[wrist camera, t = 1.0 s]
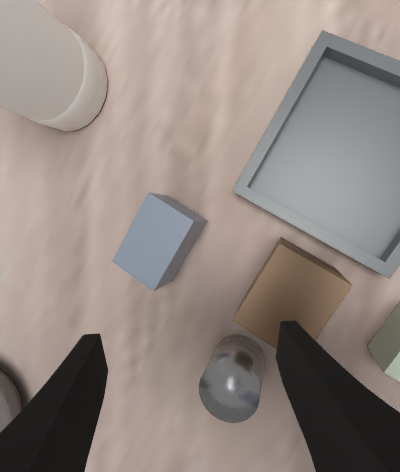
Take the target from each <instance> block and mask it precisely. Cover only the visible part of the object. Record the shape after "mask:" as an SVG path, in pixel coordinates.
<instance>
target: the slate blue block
mask: <svg viewBox="0 0 400 472" xmlns="http://www.w3.org/2000/svg"><path fill="white" fill-rule="evenodd" d="M206 223H207V220H206V219H204V218H203V217H201V216H199V215H198V214H196V213H195V212H193V211H191V210H190V209H188V208H187V207H185V206H183V205H182V204H180V203H179V202H177V201H175V200H174V199H172V198H171V197H169V196H165V195H160V194H154V193H149V192H148V194H147V196H146V198H145V200H144V202H143V204H142V206H141V207H140V209H139V211H138V213H137V215H136V217H135V219H134V221H133V223H132V225H131V226H130V228H129V230H128V232H127V234H126V236H125V238H124V240H123V242H122V243H121V245H120V247H119V249H118V251H117V253H116V255H115V257H114V259H113V260H112V262H114V263H115V264H116V265H118V266H119V267H121V268H122V269H123V270H125V271H126V272H128V273H129V274H130V275H132V276H133V277H135V278H136V279H137V280H139V281H140V282H142V283H143V284H144V285H146V286H147V287H149V288H150V289H151V290H153V291H155V290H157V289H158V288H160V287H162V286H164V285H166V284H167V283H169V282H171V281H173V279H174V277H175V276H176V274H177V272H178V270H179V269H180V267H181V265H182V264H183V262H184V260H185V258H186V257H187V255H188V253H189V252H190V250H191V248H192V247H193V245H194V243H195V241H196V240H197V238H198V236H199V235H200V233H201V231H202V229H203V228H204V226H205V224H206Z"/></svg>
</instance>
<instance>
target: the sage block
mask: <svg viewBox="0 0 400 472" xmlns="http://www.w3.org/2000/svg"><path fill="white" fill-rule="evenodd" d="M367 347H368V348H369V350H370V351H371V353H372V355H373V356H374V358H375V359H376V361H377V362H378V364H379V366H380V367H381V369H382V370H383V372H384V373H385V374H387V375H389V376H390V377H392V378H393V379H395V380H397V381H398V382H400V302H399V303H398V305H397V306H396V307H395V309H394V310H393V311H392V313H391V314H390V315H389V317H388V318H387V320H386V321H385V322H384V324H383V325H382V326H381V328H380V329H379V330H378V332H377V333H376V334H375V336H374V337H373V339H372V340H371V341H370V343H369V344H368V345H367Z"/></svg>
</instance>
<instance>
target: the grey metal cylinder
mask: <svg viewBox="0 0 400 472" xmlns="http://www.w3.org/2000/svg"><path fill="white" fill-rule="evenodd" d="M263 370H264V355H263V352H262V350H261V348H260V347H259V346H258V344H257V343H256V342H255V341H253V340H252V339H250V338H249V337H246V336H243V335H231V336H228V337H226V338H224V339H223V340H222V341H221V342H220V343H219V345H218V347H217V349H216V351H215V352H214V354H213V356H212V358H211V360H210V362H209V364H208V366H207V368H206V369H205V371H204V373H203V375H202V377H201V380H200V383H199V393H200V397H201V400H202V402H203V404H204V406H205V407H206V409H207V410H208V411H209V412H210V413H211V414H212V415H213V416H215V417H216V418H218V419H220V420H222V421H225V422H231V423H237V422H242V421H244V420H247V419H248V418H250V417H251V416H252V415H253V414H254V412H255V411H256V409H257V407H258V403H259V397H260V390H261V383H262V377H263Z"/></svg>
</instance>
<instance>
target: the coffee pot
mask: <svg viewBox="0 0 400 472" xmlns="http://www.w3.org/2000/svg"><path fill="white" fill-rule="evenodd" d="M21 411H22V404H21V400H20V395H19V393H18V391H17V388H16V386H15V385H14V383H13V382H12V380H11V379H10V378H9V377H8V376H7V375H6V374H5V373H4V372H2V371H0V432H1V431H2V430H3V429H4V428H5V427H6V426H7V425H8V424H9V423H10V422H11V421H12V420H13V419H14V418H15V417H16V416H17V415H18V414H19V413H20V412H21Z"/></svg>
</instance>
